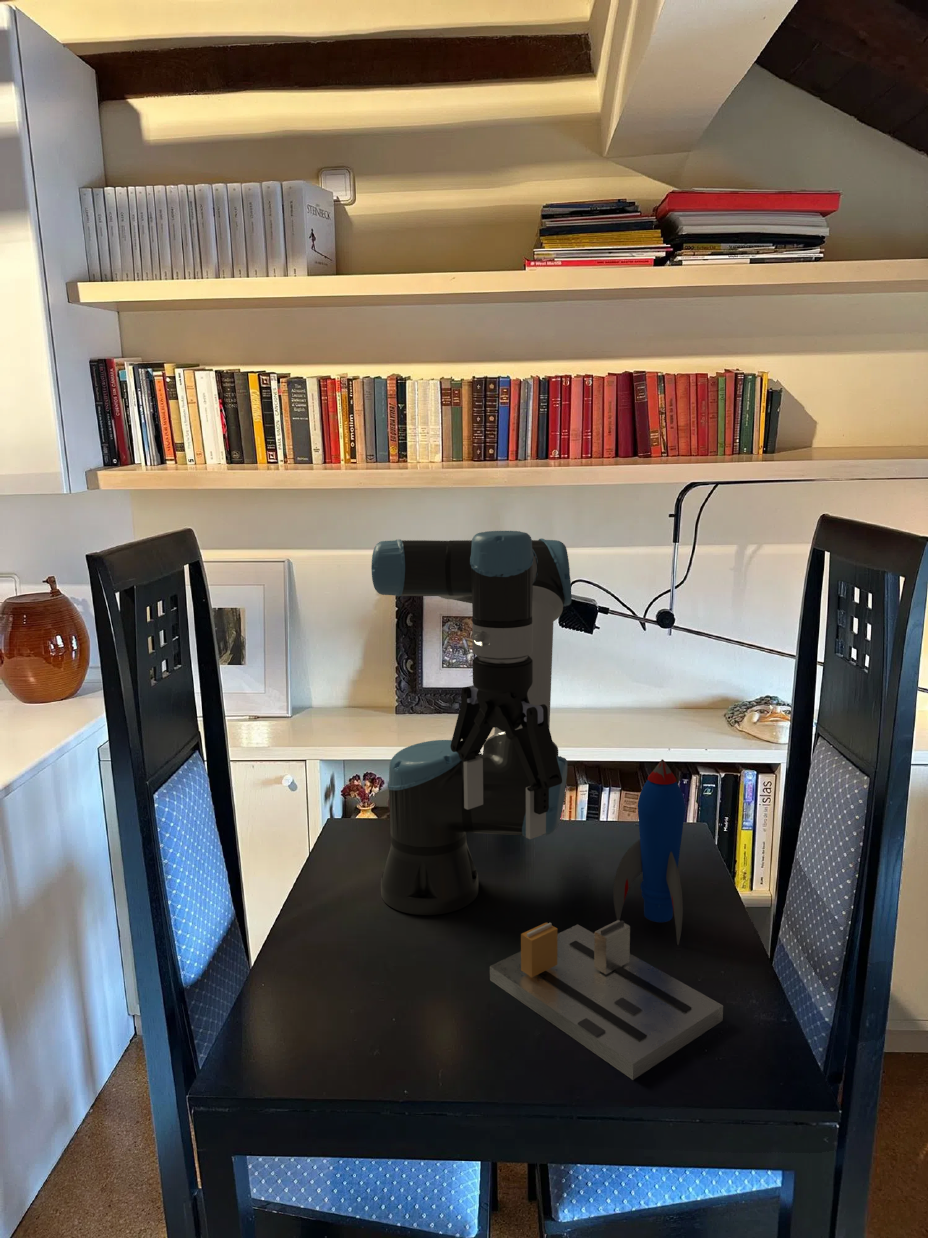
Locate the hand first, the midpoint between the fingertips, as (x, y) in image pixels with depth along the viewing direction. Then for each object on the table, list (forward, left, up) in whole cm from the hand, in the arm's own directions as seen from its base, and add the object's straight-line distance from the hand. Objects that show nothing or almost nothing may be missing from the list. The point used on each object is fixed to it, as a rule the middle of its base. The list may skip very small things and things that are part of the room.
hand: (503, 820), depth 115 cm
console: (+14, +4, -20) cm, 25 cm away
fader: (+7, 0, -17) cm, 19 cm away
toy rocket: (+6, +22, -20) cm, 30 cm away
